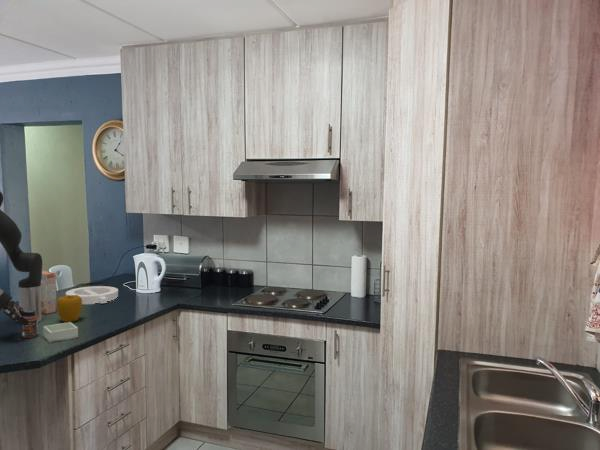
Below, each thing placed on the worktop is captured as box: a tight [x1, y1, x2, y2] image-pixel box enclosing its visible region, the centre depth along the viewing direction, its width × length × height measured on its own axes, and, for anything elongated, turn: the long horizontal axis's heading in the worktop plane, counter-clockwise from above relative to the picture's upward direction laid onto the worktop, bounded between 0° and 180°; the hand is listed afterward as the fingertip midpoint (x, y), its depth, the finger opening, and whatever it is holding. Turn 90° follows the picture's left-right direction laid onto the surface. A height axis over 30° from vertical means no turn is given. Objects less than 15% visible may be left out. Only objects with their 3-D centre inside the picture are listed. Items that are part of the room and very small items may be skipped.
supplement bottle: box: [21, 310, 39, 339], centre depth 200 cm, size 6×6×11 cm
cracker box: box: [41, 270, 57, 315], centre depth 239 cm, size 14×6×21 cm, turn 59°
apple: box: [56, 295, 83, 323], centre depth 224 cm, size 11×11×13 cm
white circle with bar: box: [65, 285, 119, 305], centre depth 270 cm, size 28×28×5 cm
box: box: [42, 322, 79, 344], centre depth 200 cm, size 11×11×4 cm
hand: (28, 321), depth 199 cm, fingers open, 8 cm apart
